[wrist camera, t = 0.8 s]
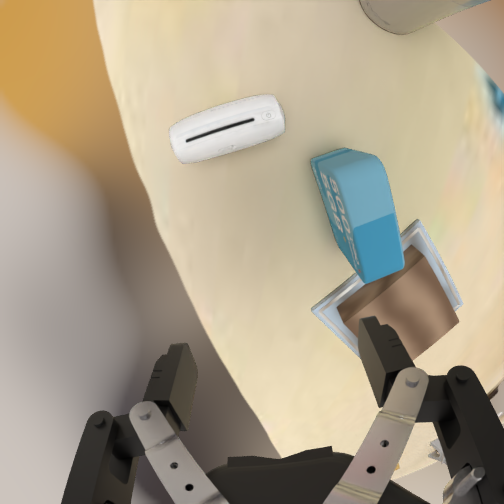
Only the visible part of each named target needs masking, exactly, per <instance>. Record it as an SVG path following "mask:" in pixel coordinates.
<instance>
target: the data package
mask: <svg viewBox="0 0 504 504" xmlns="http://www.w3.org/2000/svg"><path fill="white" fill-rule="evenodd" d="M311 166H312V170H313V172H314V175H315V178H316V181H317V184H318V187H319V190H320V193H321V196H322V199H323V202H324V205H325V208H326V211H327V214H328V217H329V220H330V224H331V227H332V230H333V233H334V236H335V239H336V242H337V244H338V246H339V248H340V249H341V251H342V252H343V254H344V255H345V257H346V258H347V259H348V261H349V262H350V264H351V265H352V267H353V268H354V270H355V271H356V273H357V274H358V276H359V277H360V279H361V280H362V282H363V283H365V284H368V283H370V282H373V281H375V280H377V279H380V278H382V277H385V276H387V275H390V274H392V273H394V272H397V271H399V270H401V269H403V268H404V265H405V260H404V254H403V248H402V242H401V237H400V231H399V226H398V221H397V216H396V212H395V207H394V203H393V198H392V194H391V190H390V186H389V182H388V178H387V174H386V171H385V168H384V166H383V164H382V162H381V161H380V159H379V158H378V157H377V156H375V155H372V154H368V153H364V152H360V151H356V150H352V149H348V148H342V149H339V150H336V151H333V152H330V153H327V154H324V155H321V156H318V157H315V158H313V159H311Z"/></svg>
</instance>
